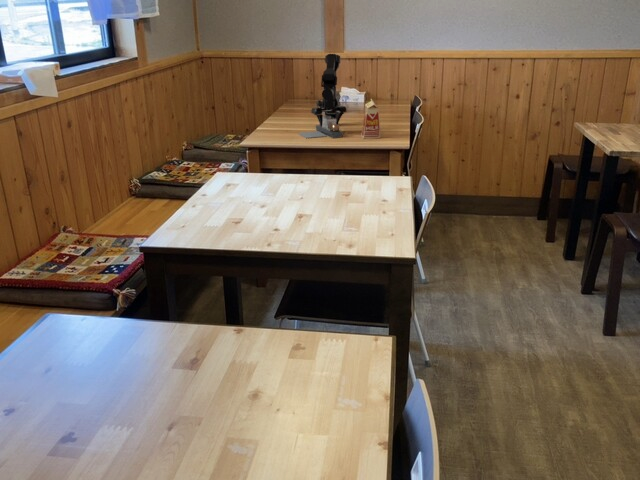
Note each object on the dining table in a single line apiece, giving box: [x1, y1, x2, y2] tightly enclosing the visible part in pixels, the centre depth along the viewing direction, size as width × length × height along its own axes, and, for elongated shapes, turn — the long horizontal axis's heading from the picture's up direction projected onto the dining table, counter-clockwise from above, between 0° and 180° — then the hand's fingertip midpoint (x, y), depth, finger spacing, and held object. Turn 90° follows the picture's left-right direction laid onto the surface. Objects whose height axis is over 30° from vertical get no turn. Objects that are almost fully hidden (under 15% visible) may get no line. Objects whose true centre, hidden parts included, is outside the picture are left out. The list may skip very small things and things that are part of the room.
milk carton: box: [360, 98, 381, 140], centre depth 307 cm, size 9×9×20 cm
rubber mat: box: [297, 130, 328, 140], centre depth 315 cm, size 12×12×1 cm
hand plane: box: [315, 123, 344, 139], centre depth 317 cm, size 22×6×7 cm, turn 24°
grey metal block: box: [322, 115, 336, 129], centre depth 316 cm, size 8×5×6 cm, turn 24°
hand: (329, 125), depth 317 cm, fingers open, 9 cm apart
